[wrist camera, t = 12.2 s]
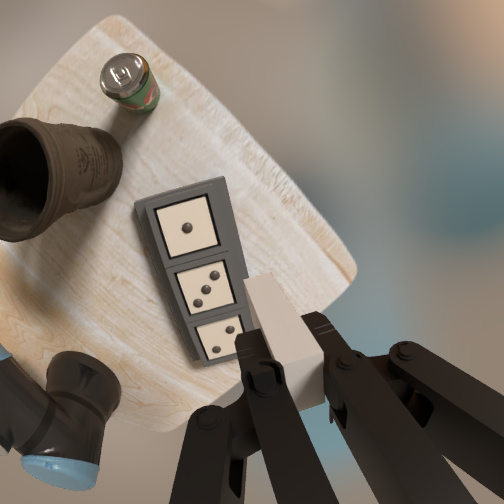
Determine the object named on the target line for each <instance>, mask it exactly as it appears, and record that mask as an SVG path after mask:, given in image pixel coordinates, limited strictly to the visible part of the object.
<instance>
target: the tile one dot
mask: <svg viewBox="0 0 504 504" xmlns="http://www.w3.org/2000/svg"><path fill="white" fill-rule="evenodd" d="M157 214H158V217H159V221H160V224H161V227H162V230H163V234H164V237H165V240H166V243H167V246H168V249H169V252H170V255H171V257H173V256H177V255H180V254H184V253H187V252H191V251H194V250H198V249H202V248H205V247H209V246H212V245H216V244H217V240H216V236H215V232H214V229H213V225H212V221H211V217H210V214H209V210H208V206H207V202H206V198H205V195H200V196H196V197H193V198H189V199H186V200H182V201H179V202H175V203H172V204H168V205H165V206H162V207H159V208H158V210H157Z"/></svg>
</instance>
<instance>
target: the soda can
mask: <svg viewBox="0 0 504 504" xmlns="http://www.w3.org/2000/svg"><path fill="white" fill-rule="evenodd" d="M100 86H101V89H102V91H103V92H104V94H105V95H107V96H108V97H109V98H111V99H112V100H114V101H115V102H116V103H118V104H119V105H121V106H122V107H123V108H125V109H126V110H128V111H129V112H131V113H133V114H144V113H147V112H149V111H151V110H152V109H153V108H154V107H155V106H156V105H157V103H158V101H159V99H160V89H159V87H158V84H157V82H156V80H155V78H154V76H153V74H152V72H151V69H150V67H149V65H148V63H147V61H146V60H145V59H144V58H143V57H142V56H140V55H138V54H134V53H122V54H119V55H116V56H114V57H113V58H111V59H110V60H109V61H108V62H107V63H106V64H105V65H104V67H103V69H102V71H101V76H100Z"/></svg>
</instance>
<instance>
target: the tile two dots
mask: <svg viewBox="0 0 504 504" xmlns="http://www.w3.org/2000/svg"><path fill="white" fill-rule="evenodd" d="M197 330H198V333H199V335H200V338H201V340H202V343H203V345H204V348H205V350H206V353H207V355H208V358H209V360H210V359H214V358H218V357H222V356H225V355H229V354H233V353H236V349H235V345H234V341H235V339H236V336H237V334H240V333H243V332H242V328H241V325H240V321H239V318H238V315H236V316H232V317H229V318H225V319H222V320H218V321H214V322H211V323H207V324H203V325H200V326H197Z"/></svg>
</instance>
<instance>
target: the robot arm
mask: <svg viewBox="0 0 504 504" xmlns="http://www.w3.org/2000/svg"><path fill="white" fill-rule="evenodd" d="M243 281H244V286H245V290H246V295H247V299H248V303H249V308H250V312H251V317H252V321H253V325H254V327H255V330H251V331H247V332H244V333H240V334H237V336H236V339H235V341H234V345H235V349H236V353H237V357H238V361H239V365H240V369H241V380H242V383H243V386H244V392H243V394H242V395H241V397H240V398H239V399H238V400H237V401H235V402H234V403H232V404H231V405H229V406H227V407H225V408H222V407H220V406H215V405H209V406H203V407H201V408H199V409H197V410H196V411H195V412H194V413H193V414H192V415H191V417H190V419H189V421H188V425H187V429H186V433H185V437H184V441H183V445H182V450H181V454H180V459H179V462H178V467H177V471H176V475H175V480H174V484H173V488H172V493H171V498H170V502H169V504H244V495H245V481H246V466H247V457H248V456H250V455H252V454H253V453H255V452H257V451H259V450H262V454H263V457H264V461H265V464H266V468H267V471H268V474H269V478H270V481H271V484H272V487H273V491H274V494H275V497H276V500H277V503H278V504H339V502H338V500H337V498H336V496H335V493H334V491H333V489H332V487H331V485H330V482H329V480H328V478H327V476H326V473H325V472H324V469H323V467H322V465H321V462H320V460H319V458H318V456H317V453H316V451H315V449H314V447H313V444H312V442H311V440H310V438H309V435H308V433H307V431H306V428H305V426H304V424H303V422H302V419H301V417H300V415H299V411H302V410H305V409H308V408H311V407H314V406H317V405H319V404H322V403H325V395H326V397H327V399H328V401H329V403H330V410H329V411H330V412H329V418H330V419H329V420H330V423H333V418H334V420H335V422H336V424H337V426H338V428H339V430H340V431H341V433H342V435H343V437H344V439H345V441H346V443H347V445H348V446H349V448H350V450H351V452H352V454H353V456H354V458H355V459H356V461H357V463H358V465H359V467H360V469H361V471H362V473H363V475H364V476H365V478H366V480H367V482H368V484H369V486H370V488H371V490H372V491H373V493H374V495H375V497H376V499H377V501H378V502H379V504H478V503H477V502H476V501H475V500H474V498H473V497H472V496H471V494H470V493H469V491H468V490H467V489H466V487H465V486H464V485H463V483H462V482H461V480H460V479H459V478H458V476H457V475H456V473H455V472H454V471H453V469H452V468H451V466H450V465H449V464H448V462H447V461H446V460H445V458H444V457H443V456H442V455H444V456H445V457H446V458H447V459H449V460H450V461H451V462H453V463H454V464H455V465H457V466H458V467H459V468H461V469H462V470H463V471H465V472H466V473H467V474H469V475H470V476H471V477H473V478H474V479H475V480H477V481H478V482H479V483H481V484H482V485H484V486H485V487H486V488H488V489H489V490H491V491H492V492H493V493H495V494H496V495H497V496H499V497H500V498H502V499H503V500H504V396H503V395H502V394H500V393H498V392H497V391H495V390H493V389H491V388H490V387H488V386H487V385H485V384H483V383H482V382H480V381H479V380H477V379H475V378H474V377H472V376H470V375H469V374H467V373H465V372H464V371H462V370H460V369H459V368H457V367H455V366H454V365H452V364H450V363H449V362H447V361H446V360H444V359H442V358H441V357H439V356H437V355H435V354H434V353H432V352H430V351H429V350H427V349H426V348H424V347H422V346H421V345H419V344H417V343H414V342H411V341H402V342H398V343H396V344H394V345H393V346H392V347H391V348H390V351H389V354H387V355H381V356H374V357H367V356H365V355H364V354H362V353H361V352H359V351H356V350H352V349H351V348H350V347H349V346H348V345H347V343H346V342H345V340H344V339H343V338H342V337H341V335H340V334H339V333H338V331H337V330H335V328H334V326H333V325H332V324H331V322H330V321H329V320H328V319H327V317H326V316H325V315H323V314H321V313H319V312H317V311H315V312H312V313H308V314H305V315H302V316H300V315H299V313H298V312H297V310H296V309H295V307H294V306H293V304H292V303H291V301H290V299H289V298H288V296H287V295H286V293H285V292H284V290H283V289H282V287H281V286H280V284H279V282H278V281H277V279H276V278H275V276H274V275H273V273H272V272H271V273H267V274H263V275H259V276H255V277H251V278H247V279H243ZM46 378H47V384H46V391H45V390H44V389H43V388H42V387H41V386H39V385H38V384H37V383H36V382H35V381H34V380H33V379H32V378H31V377H30V375H29V374H28V373H27V372H26V371H25V370H24V369H23V368H22V367H21V366H20V365H19V363H18V362H17V361H16V360H15V359H14V358H13V355H12V354H11V353H9V352H8V351H7V350H6V349H5V348H4V347H3V346H2V345H1V343H0V456H7V455H8V453H9V451H10V449H11V447H13V448H14V449H15V450H16V451H18V452H19V453H20V454H21V455H22V457H21V464H22V467H23V468H24V469H25V470H26V471H27V472H28V473H29V474H31V475H32V476H34V477H35V478H37V479H39V480H41V481H43V482H45V483H48V484H50V485H53V486H56V487H59V488H63V489H68V490H74V491H85V490H89V489H91V488H93V487H94V486H95V484H96V479H97V474H98V471H99V470H100V468H99V463H100V455H101V447H102V441H103V436H104V429H105V424H106V422H107V421H108V419H109V418H110V416H111V414H112V412H113V411H114V410H115V409H116V408H117V406H118V404H119V402H120V396H121V386H120V383H119V381H118V379H117V377H116V376H115V374H114V373H113V372H112V371H111V370H110V369H109V368H108V367H107V366H106V365H105V364H103V363H102V362H100V361H99V360H97V359H95V358H94V357H92V356H89V355H87V354H84V353H80V352H75V351H65V352H61V353H58V354H57V355H55V356H54V357H53V358H52V360H51V362H50V364H49V366H48V368H47V374H46Z"/></svg>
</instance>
